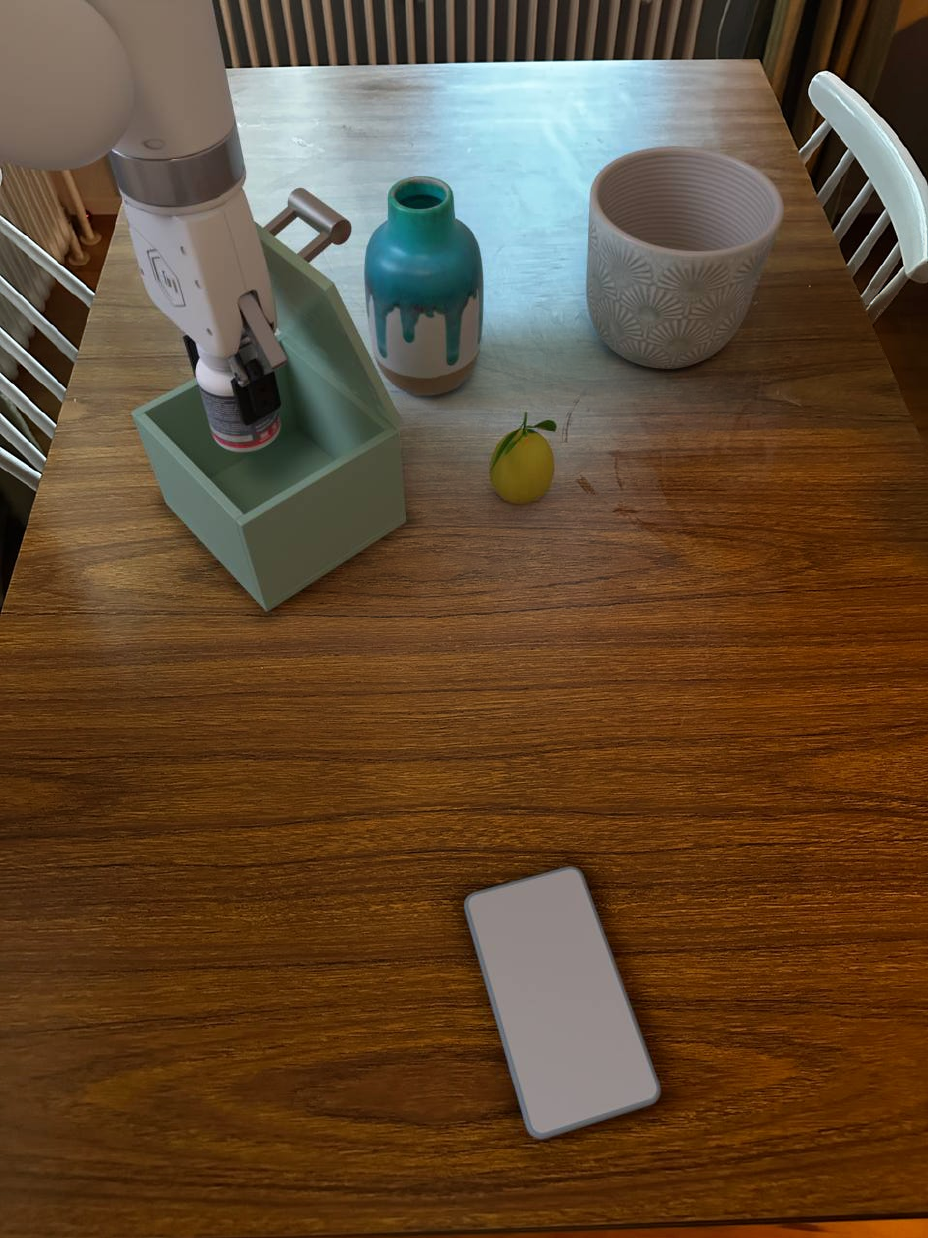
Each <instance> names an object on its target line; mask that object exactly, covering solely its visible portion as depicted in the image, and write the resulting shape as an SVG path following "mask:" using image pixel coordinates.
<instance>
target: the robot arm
mask: <svg viewBox="0 0 928 1238" xmlns="http://www.w3.org/2000/svg"><path fill="white" fill-rule="evenodd" d="M213 3H214V2H213V0H0V162H2V163H5V164H9V165H12V166H16V167H18V168H19V167H20V168H23V169H29V170H34V171H43V172H64V171H71V170H78V169H81V168H84V167H87V166H90V165H92V164H93V163H96V162H97V161H99V160H101V159H103V158H104V157H105V156H107V157H108V160H109V163H110V166H111V169H112V173H113V175H114V179H115V181H116V184H117V187H118V190H119V195H120V196H121V199H122V203H123V204H122V205H123V210H124V214H125V218H126V222H127V226H128V230H129V234H130V238H131V242H132V246H133V249H134V253H135V256H136V260H137V265H138V268H139V271H140V275H141V278H142V282H143V286H144V287H145V291H146V293H147V295H148V296H149V299H150V300H151V301H152V302H153V304H154V305H155V306H156V307H157V308H158V309H159V310H160V311H161V312H162V313H163V314H164V315H165V316H166V317H167V318H169V319H170V320H171V321H172V322H173V323H174V325H176V326H177V327H178V328H179V330H180V331H181V333H182V334H184V336H182V340H183V343H184V346H185V350H186V354H187V357H188V360H189V362H190V366H191V368H192V373H193V376H194V379H195V378H196V366H197V363H198V360H199V359H200V357H199V354H198V350H197V346H196V343H197V344H198V345H199V346H200V347H202V348H203V349H204V350H205V351H206V352H208V353H209V354H210V355H212V356H214V357H216V358H219V359H223V360H225V359H228V362H229V364H230V367H231V369H232V371H233V374H234V376H235V378H233V379H232V380H231V381H230V382H231V386H232V390H233V393H234V397H235V401H236V405H237V408H238V412H239V416H240V420H241V421H242V422H243V423H244V424H245V425H250V424H252V423H254V422H256V421H258V420H259V419H261V418H263V417H265V416H267V415H268V414H270V413H272V412H274V411H275V410H277V409H279V408H280V406H281V400H280V395H279V390H278V386H277V381H276V376H275V372H274V371H275V370H277V369H278V368H280V367H282V366H284V365H286V364H287V363H288V360H287V357H286V355H285V353H284V351H283V350H282V348H281V346H280V344H279V342H278V340H277V338H276V336H277V335H275V334H276V332H277V330H278V328H277V311H276V305H275V299H274V294H273V289H272V285H271V280H270V276H269V272H268V268H267V264H266V260H265V256H264V253H263V249H262V245H261V242H260V238H259V235H258V231H257V228H256V225H255V222H256V221H255V218H254V215H253V213H252V209H251V206H250V202H249V200H248V198H247V195H246V192H245V190H244V188H243V187H244V185H245V182H246V179H247V169H246V164H245V159H244V153H243V149H242V144H241V140H240V135H239V130H238V123H237V119H236V114H235V109H234V104H233V98H232V94H231V88H230V84H229V79H228V74H227V70H226V64H225V60H224V59H225V58H224V54H223V49H222V44H221V39H220V33H219V28H218V24H217V20H216V14H215V9H214V4H213ZM254 221H255V222H254ZM243 327H244V329H245V330H244V331H242V328H243ZM251 343H252V344H253V346H254V348H255V350H256V352H257V357H256V358H254V359H252V360H250V361H248V362H247V363H246V364H245V365H244V363H243V361H242V358H241V356H240V353H239V351H238V350H240V349H242V348H244V347H246V346H248V345H249V344H251ZM196 379H197V378H196Z"/></svg>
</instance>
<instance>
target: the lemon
mask: <svg viewBox="0 0 928 1238" xmlns="http://www.w3.org/2000/svg"><path fill="white" fill-rule="evenodd" d="M527 421H528V412H527V411H524V416H523V421H522V423H521V425H520V426H519V428H516V429H514V430H511V431H510V432H508V433H506V434H505V435H503V437H502V438H500V440H499V441H498V442H497V443H496V445H495V447H494V449H493V452H492V454H491V457H490V459H489V460H490V461H489V481H490V482H491V485H492V487H493V490H494V491H495V493H496V494H497V495H498V496H499V497H500V498H501V499H503V501H506V502H508V503H509V504H515V505H522V504H523V505H525V504H529V503H532V502H534V501H536V500H538V499H540V498H542V497H543V496H544V495H545V494H546V493H548V491H549V490H550V488H551V485H552V483H553V480H554V477H555V472H556V471H555V467H556V465H555V455H554V451H553V448H552V446H551V445H550V443H549V441H548V439H547V438H546V437H544V436H543V435H542V434H541V433H540V432H538V431H536V430H535V429H539V430H541V431H547V432H553V433H555V432H556V430H557V427H558V426H557V424H556V422H555V421H554V420H552V419H544V420H543V421H540V422H539V423H536V424H534V425H527V423H528V422H527Z"/></svg>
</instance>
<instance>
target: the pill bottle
mask: <svg viewBox="0 0 928 1238" xmlns="http://www.w3.org/2000/svg"><path fill="white" fill-rule="evenodd" d="M244 330H245V329H244V327H243V328H242V331H244ZM196 346H197V350H198V354H199V357H200V359H199V360H198V363H197V366H196V378H197V383H198V386H199V389H200V393H201V396H202V400H203V403H204V406H205V410H206V413H207V417H208V420H209V424H210V428H211V431H212V434H213V437H214V439H215V440H216V442H217V443H218V444H219V445H220V446H222V447H223V448H225V449H227V450H230V451H234V452H252V451H256V450H259V449H262V448H264V447H266V446H267V445H269V444H270V443H271V442H273V441H274V440H275V438H276V437H277V435H278V434H279V431H280V427H281V422H280V416H279V411H278V409H277V410H275V411H274V412H272V413H270V414H268V415H267V416H265V417H263V418H261V419H259V420H258V421H256V422H254V423H252V424H250V425H245V424H244V423H243V422H242V421H241V420H240V416H239V412H238V408H237V405H236V401H235V397H234V393H233V390H232V386H231V382H230V381H231V380H232V379H233V378H235V376H234V374H233V371H232V369H231V367H230V364H229V362H228V359H225V360H223V359H219V358H216V357H214V356H212V355H210V354H209V353H208V352H206V351H205V350H204V349H203V348H202V347H200V346H199V345H198V344H197V343H196ZM238 351H239V353H240V356H241V358H242V361H243V363H244V365H245V364H246V363H247V362H248V361H250V360H252V359H254V358H256V357H257V352H256V350H255V348H254V346H253V344H252V343H251V344H249V345H248V346H246V347H244V348H242V349H240V350H238Z"/></svg>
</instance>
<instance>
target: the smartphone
mask: <svg viewBox="0 0 928 1238" xmlns="http://www.w3.org/2000/svg"><path fill="white" fill-rule="evenodd" d="M463 908H464V909H463V910H464V913H465V918H466V921H467V924H468V927H469V931H470V934H471V938H472V942H473V945H474V949H475V952H476V955H477V959H478V963H479V966H480V969H481V974H482V976H483V980H484V984H485V988H486V991H487V995H488V997H489V998H488V999H489V1002H490V1005H491V1009H492V1012H493V1015H494V1020H495V1022H496V1023H495V1024H496V1027H497V1029H498V1033H499V1036H500V1037H499V1038H500V1040H501V1044H502V1048H503V1051H504V1056H505V1058H506V1061H507V1065H508V1070H509V1073H510V1078H511V1080H512V1084H513V1086H514V1089H515V1093H516V1097H517V1100H518V1104H519V1108H520V1111H521V1114H522V1118H523V1123H524V1126H525V1128H526V1131H527V1132H528V1134H529V1135H530V1136H531V1137H533V1138H534V1139H536V1140H541V1141H542V1140H547V1139H550V1138H553V1137H557V1136H560V1135H562V1134H566V1133H569V1132H572V1131H574V1130H578V1129H582V1128H584V1127H588V1126H590V1125H593V1124H596V1123H600V1122H603V1121H606V1120H609V1119H612V1118H615V1117H618V1116H621V1115H625V1114H628V1113H631V1112H634V1111H637V1110H640V1109H644V1108H646V1107H650V1106H652V1105H654V1104H656V1102H657V1101H658V1100H659V1098H660V1096H661V1083H660V1081H659V1079H658V1076H657V1072H656V1071H655V1068H654V1065H653V1062H652V1061H653V1060H652V1059H651V1056H650V1054H649V1051H648V1048H647V1045H646V1042H645V1039H644V1037H643V1033H642V1031H641V1028H640V1026H639V1023H638V1021H637V1017H636V1015H635V1012H634V1010H633V1007H632V1004H631V1001H630V999H629V996H628V993H627V991H626V988H625V985H624V982H623V979H622V976H621V974H620V972H619V969H618V966H617V963H616V961H615V958H614V954H613V952H612V949H611V947H610V944H609V941H608V939H607V936H606V934H605V933H606V932H605V931H604V928H603V925H602V922H601V919H600V917H599V914H598V912H597V909H596V906H595V903H594V900H593V898H592V894H591V892H590V889H589V887H588V884H587V881H586V879H585V876H584V873H583V872H582V871H581V870H580V869H579V868H578V867H575V866H571V865H569V866H565V867H561V868H557V869H554V870H550V871H547V872H542V873H540V874H536V875H533V876H529V877H525V878H521V879H518V880H514V881H511V882H508V883H503V884H499V885H496V886H492V887H489V888H485V889H481V890H478V891H474V892H472V893H470V894H469V895H467V897H466V898H465V900H464V903H463Z"/></svg>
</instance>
